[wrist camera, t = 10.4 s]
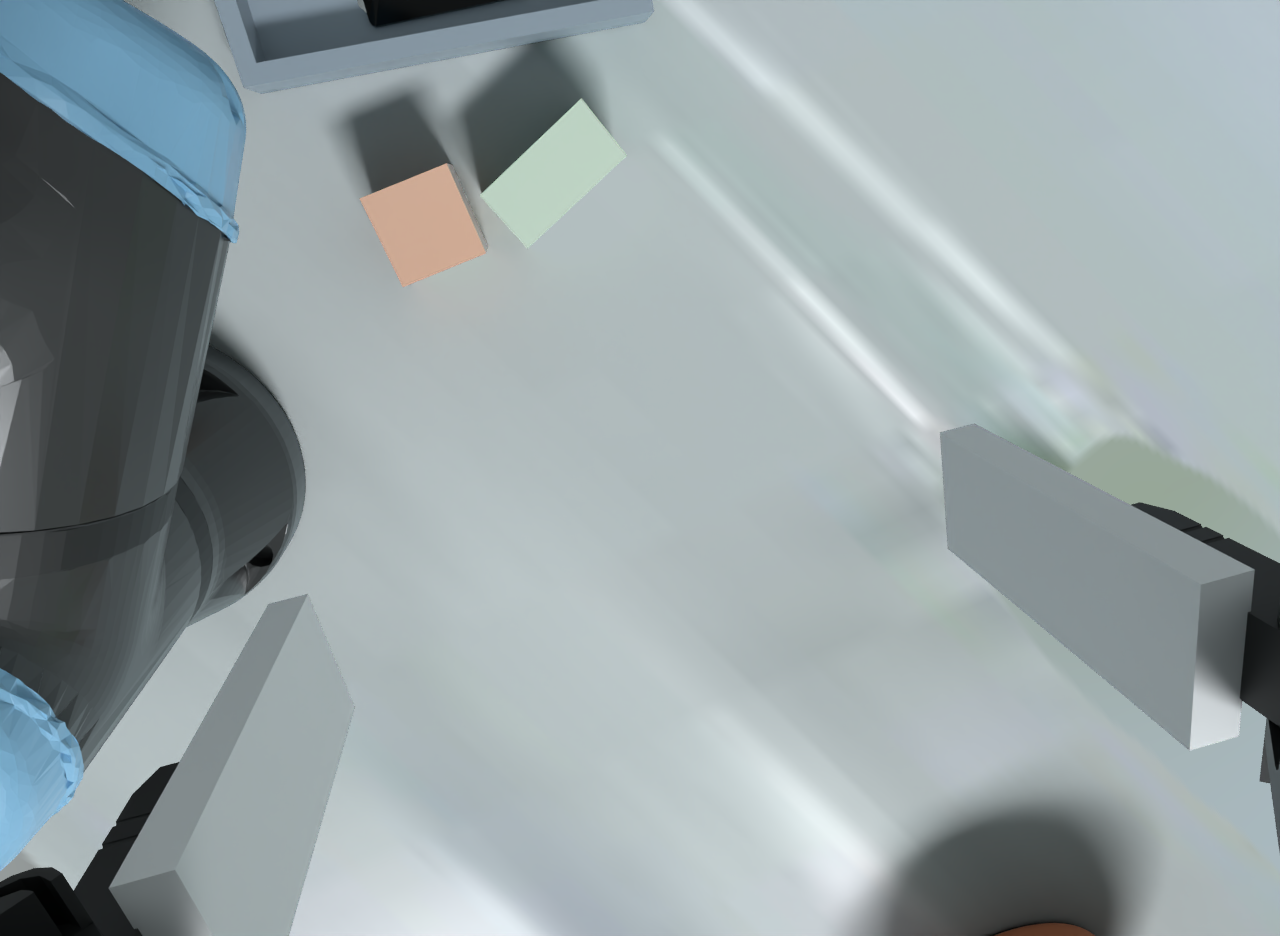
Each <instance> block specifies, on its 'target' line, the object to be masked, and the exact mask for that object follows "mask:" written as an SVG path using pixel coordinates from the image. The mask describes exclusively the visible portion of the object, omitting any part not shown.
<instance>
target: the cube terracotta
mask: <svg viewBox="0 0 1280 936" xmlns="http://www.w3.org/2000/svg"><path fill="white" fill-rule="evenodd" d="M360 200H361V202H362V205H363V207H364V209H365V211H366V213H367V215H368V217H369V219H370V221H371V223H372V225H373V227H374V229H375V231H376V233H377V235H378V237H379V239H380V241H381V243H382V245H383V247H384V250H385V252H386V254H387V256H388V258H389V260H390V262H391V264H392V266H393V268H394V270H395V272H396V274H397V276H398V278H399V280H400V282H401V284H402V286H403V287H405V286H407V285H409V284H412V283H414V282H417V281H419V280H422V279H424V278H427V277H429V276H431V275H434V274H436V273H439V272H441V271H444V270H446V269H449V268H451V267H453V266H456V265H458V264H461V263H463V262H466V261H468V260H471V259H473V258H476V257H478V256H480V255H483V254H485V253H486V252H487V249H488V245H487V242H486V240H485V238H484V236H483V233H482V231H481V229H480V226H479V224H478V222H477V220H476V217H475V215H474V213H473V210H472V208H471V206H470V204H469V201H468V199H467V197H466V194H465V192H464V190H463V188H462V185H461V183H460V181H459V178H458V176H457V174H456V172H455V169H454V167H453V165H451V164H448V163H446V164H443V165H441V166H439V167H436V168H434V169H431V170H429V171H426V172H424V173H421V174H419V175H416V176H414V177H411V178H409V179H407V180H404V181H402V182H399V183H397V184H394V185H392V186H389V187H387V188H384V189H382V190H380V191H377V192H375V193H372V194H370V195H367V196H365V197H362V198H360Z"/></svg>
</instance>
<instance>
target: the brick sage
mask: <svg viewBox="0 0 1280 936" xmlns="http://www.w3.org/2000/svg"><path fill="white" fill-rule="evenodd" d="M626 156H627V155H626V153H625V152H624V151H623V150H622V148H621V147H620V146H619V145H618V143H617V142H616V141H615V140H614V138H613V137H612V136H611V135H610V133H609V132H608V131H607V130H606V128H605V127H604V126H603V125H602V123H601V122H600V121H599V120H598V118H597V117H596V116H595V115H594V113H593V112H592V111H591V110H590V108H589V107H588V106H587V105H586V103H585V102H584V101H583V100H582V98H581V99H580V100H579V101H578V102H577V103H576V104H575V105H574V106H573V107H572V108H571V109H570V110H569V111H567V112H566V113H565V114H564V115H563V116H562V117H561V118H560V119H559V120H558V121H557V122H556V123H555V124H554V125H553V126H552V127H551V128H550V129H549V130H548V131H547V132H545V133H544V134H543V135H542V136H541V137H540V138H539V139H538V140H537V141H536V142H535V143H534V144H533V145H532V146H531V147H530V148H529V149H528V150H527V151H526V152H525V153H524V154H522V155H521V156H520V157H519V158H518V159H517V160H516V161H515V162H514V163H513V164H512V165H511V166H510V167H509V168H508V169H507V170H506V171H505V172H504V173H503V174H502V175H501V176H499V177H498V178H497V179H496V180H495V181H494V182H493V183H492V184H491V185H490V186H489V187H488V188H487V189H486V190H485V191H484V192H483V193H482V194H481V195H480V197H481V198H482V199H483V200H484V201H485V202H486V203H487V204H488V205H489V207H490V208H491V209H492V210H493V211H494V212H495V213H496V214H497V215H498V217H499V218H500V219H501V220H502V221H503V222H504V223H505V224H506V225H507V227H508V228H509V229H510V230H511V231H512V232H513V233H514V234H515V236H516V237H517V238H518V239H519V240H520V241H521V242H522V243H523V244H524V246H525V247H526V248H527V249H528V248H529V247H530V246H531V245H532V244H533V243H534V242H535V241H536V240H537V239H539V238H540V237H541V236H542V235H543V234H544V233H545V232H546V231H547V230H548V229H549V228H550V227H551V226H552V225H553V224H555V223H556V222H557V221H558V220H559V219H560V218H561V217H562V216H563V215H564V214H565V213H566V212H567V211H568V210H570V209H571V208H572V207H573V206H574V205H575V204H576V203H577V202H578V201H579V200H580V199H581V198H582V197H583V196H584V195H586V194H587V193H588V192H589V191H590V190H591V189H592V188H593V187H594V186H595V185H596V184H597V183H598V182H599V181H600V180H602V179H603V178H604V177H605V176H606V175H607V174H608V173H609V172H610V171H611V170H612V169H613V168H614V167H615V166H617V165H618V164H619V163H620V162H621V161H622V160H623V159H624V158H625V157H626Z"/></svg>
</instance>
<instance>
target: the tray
mask: <svg viewBox="0 0 1280 936" xmlns="http://www.w3.org/2000/svg"><path fill="white" fill-rule="evenodd" d="M214 1H215V4H216V7H217V10H218V13H219V16H220V19H221V22H222V25H223V28H224V31H225V34H226V37H227V39H228V42H229V45H230V48H231V51H232V54H233V57H234V60H235V63H236V66H237V69H238V72H239V75H240V78H241V81H242V84H243V87H244V88H246V89H249V90H252V91H255V92H257V93H260V94H263V93H268V92H273V91H279V90H284V89H289V88H295V87H300V86H305V85H311V84H316V83H322V82H327V81H332V80H338V79H343V78H348V77H354V76H359V75H364V74H370V73H375V72H381V71H386V70H391V69H397V68H402V67H407V66H413V65H418V64H423V63H429V62H434V61H440V60H445V59H450V58H456V57H461V56H466V55H472V54H477V53H482V52H488V51H493V50H499V49H504V48H509V47H515V46H520V45H525V44H531V43H536V42H541V41H547V40H552V39H558V38H563V37H568V36H574V35H579V34H584V33H590V32H595V31H600V30H606V29H611V28H617V27H622V26H627V25H633V24H638V23H643V22H645V21H646V20H647V19H648V18H649V17H650V16H651V14H652V13H653V12H654V9H653V2H652V0H505V1H500V2H495V3H491V4H486V5H481V6H477V7H472V8H467V9H462V10H458V11H453V12H448V13H443V14H439V15H434V16H429V17H424V18H420V19H415V20H410V21H405V22H401V23H396V24H391V25H386V26H382V27H374V26H372V25H371V23H370V22H369V19H368V15H367V13H366V12H365V11H364V10H363V9H362V8H360V7H359V5H358V2H357V0H214Z"/></svg>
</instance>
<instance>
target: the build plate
mask: <svg viewBox="0 0 1280 936" xmlns="http://www.w3.org/2000/svg"><path fill="white" fill-rule="evenodd" d="M500 1H505V0H357V2H358V5H359V7H360V8H362V9H363V10H364V11H365V12H366V13H367V15H368V19H369V22H370V23H371V25H372V26H374V27H382V26H386V25H391V24H396V23H401V22H405V21H410V20H415V19H420V18H424V17H429V16H434V15H439V14H443V13H448V12H453V11H458V10H462V9H467V8H472V7H477V6H481V5H486V4H491V3H495V2H500Z"/></svg>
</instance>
